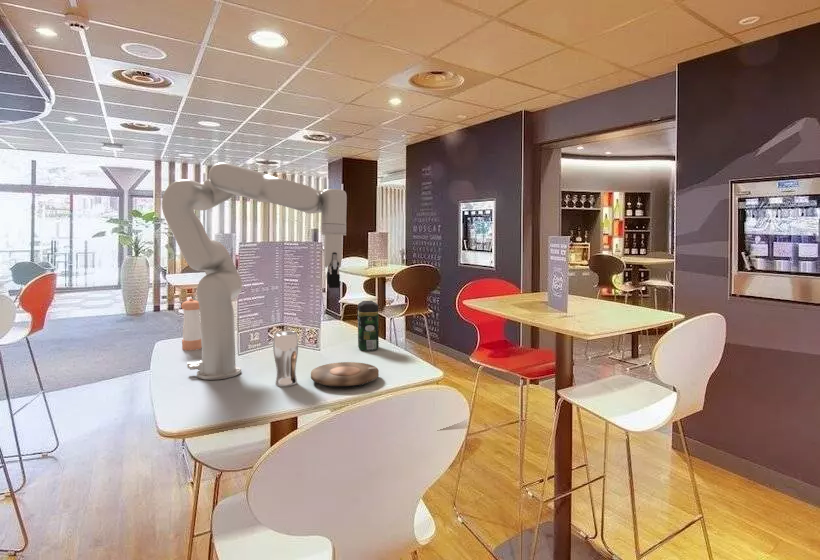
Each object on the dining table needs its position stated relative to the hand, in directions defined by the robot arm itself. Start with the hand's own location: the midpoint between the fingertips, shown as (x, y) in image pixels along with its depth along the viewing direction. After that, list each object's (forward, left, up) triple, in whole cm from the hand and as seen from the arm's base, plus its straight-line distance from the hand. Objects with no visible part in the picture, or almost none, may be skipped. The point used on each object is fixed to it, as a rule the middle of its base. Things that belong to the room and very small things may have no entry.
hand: (333, 286), depth 139 cm
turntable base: (+3, -8, -28) cm, 29 cm away
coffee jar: (+14, +30, -28) cm, 44 cm away
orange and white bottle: (-52, +42, -28) cm, 73 cm away
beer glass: (-14, -8, -28) cm, 32 cm away
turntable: (+3, -8, -26) cm, 27 cm away
